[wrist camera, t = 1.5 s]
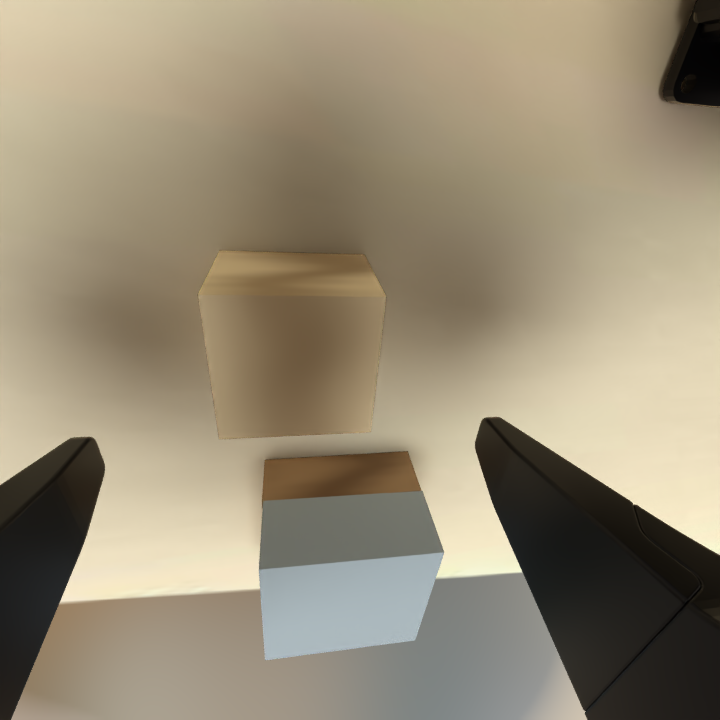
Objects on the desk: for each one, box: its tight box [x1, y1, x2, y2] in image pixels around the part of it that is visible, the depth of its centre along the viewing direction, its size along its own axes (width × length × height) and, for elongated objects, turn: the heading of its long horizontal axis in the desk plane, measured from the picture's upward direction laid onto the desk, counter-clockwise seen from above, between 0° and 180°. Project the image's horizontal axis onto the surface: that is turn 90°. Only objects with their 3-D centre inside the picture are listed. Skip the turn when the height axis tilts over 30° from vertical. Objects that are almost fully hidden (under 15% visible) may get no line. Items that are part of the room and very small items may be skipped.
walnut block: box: [262, 451, 421, 509], centre depth 20 cm, size 7×7×3 cm
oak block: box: [198, 251, 386, 439], centre depth 14 cm, size 5×5×4 cm
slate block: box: [259, 491, 444, 660], centre depth 18 cm, size 7×7×3 cm
